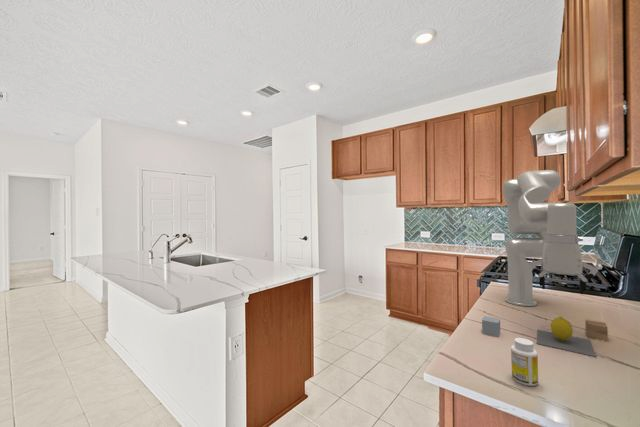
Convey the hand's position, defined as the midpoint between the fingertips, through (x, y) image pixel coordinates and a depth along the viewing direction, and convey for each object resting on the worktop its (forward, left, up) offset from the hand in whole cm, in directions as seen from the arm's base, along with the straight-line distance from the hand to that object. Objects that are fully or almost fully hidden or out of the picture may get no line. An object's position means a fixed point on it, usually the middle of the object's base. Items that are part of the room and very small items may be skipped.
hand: (561, 290), depth 93 cm
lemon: (0, 0, -17) cm, 17 cm away
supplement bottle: (+34, -9, -18) cm, 40 cm away
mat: (0, 0, -17) cm, 17 cm away
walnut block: (-12, +9, -17) cm, 23 cm away
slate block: (+6, -20, -17) cm, 27 cm away
